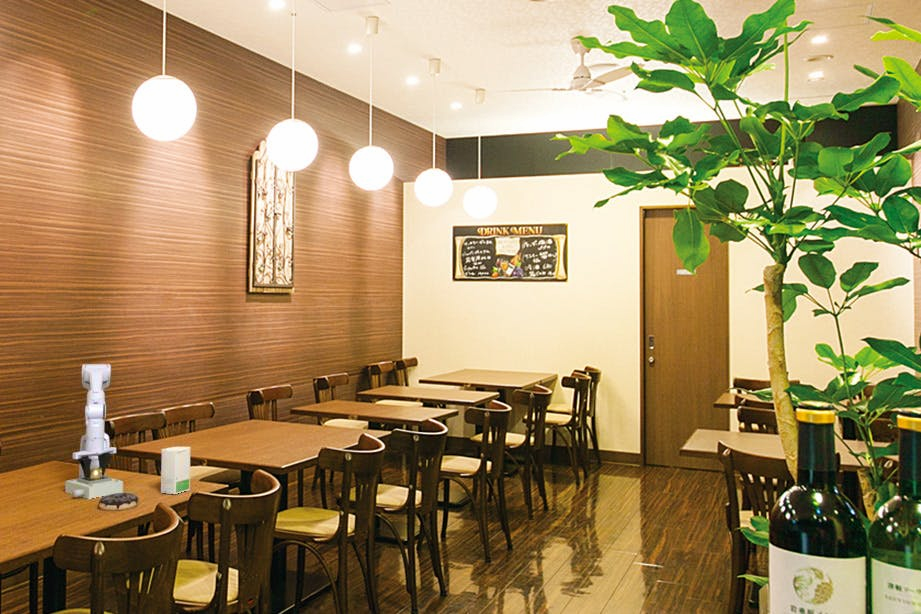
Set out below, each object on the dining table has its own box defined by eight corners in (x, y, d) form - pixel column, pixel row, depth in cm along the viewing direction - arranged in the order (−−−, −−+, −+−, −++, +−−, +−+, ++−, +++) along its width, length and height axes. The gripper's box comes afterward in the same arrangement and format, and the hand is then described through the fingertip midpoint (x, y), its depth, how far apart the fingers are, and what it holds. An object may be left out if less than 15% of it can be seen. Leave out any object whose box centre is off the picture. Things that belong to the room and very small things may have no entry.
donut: (110, 502, 245) (110, 490, 245) (145, 503, 244) (145, 491, 244) (92, 511, 234) (92, 499, 234) (128, 512, 233) (128, 500, 233)
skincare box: (174, 495, 254) (175, 450, 255) (159, 493, 257) (160, 449, 257) (190, 490, 262) (191, 446, 263) (175, 488, 265) (176, 445, 265)
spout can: (85, 484, 256) (85, 468, 256) (96, 482, 260) (96, 466, 260) (95, 486, 253) (95, 470, 253) (106, 484, 257) (107, 468, 257)
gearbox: (56, 493, 254) (56, 479, 254) (98, 486, 267) (99, 472, 267) (80, 501, 245) (80, 486, 245) (122, 492, 257) (123, 478, 257)
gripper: (80, 441, 249) (79, 481, 249) (121, 436, 261) (120, 474, 261) (69, 439, 253) (69, 478, 253) (110, 434, 265) (109, 471, 265)
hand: (94, 476), depth 257 cm, fingers open, 5 cm apart
